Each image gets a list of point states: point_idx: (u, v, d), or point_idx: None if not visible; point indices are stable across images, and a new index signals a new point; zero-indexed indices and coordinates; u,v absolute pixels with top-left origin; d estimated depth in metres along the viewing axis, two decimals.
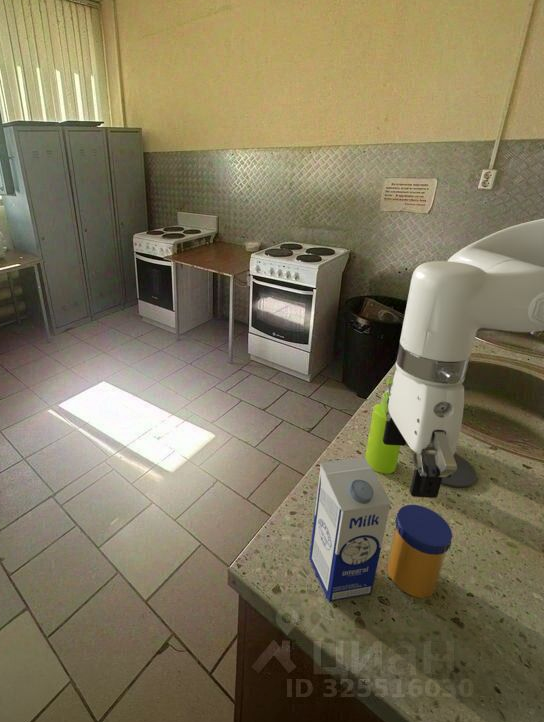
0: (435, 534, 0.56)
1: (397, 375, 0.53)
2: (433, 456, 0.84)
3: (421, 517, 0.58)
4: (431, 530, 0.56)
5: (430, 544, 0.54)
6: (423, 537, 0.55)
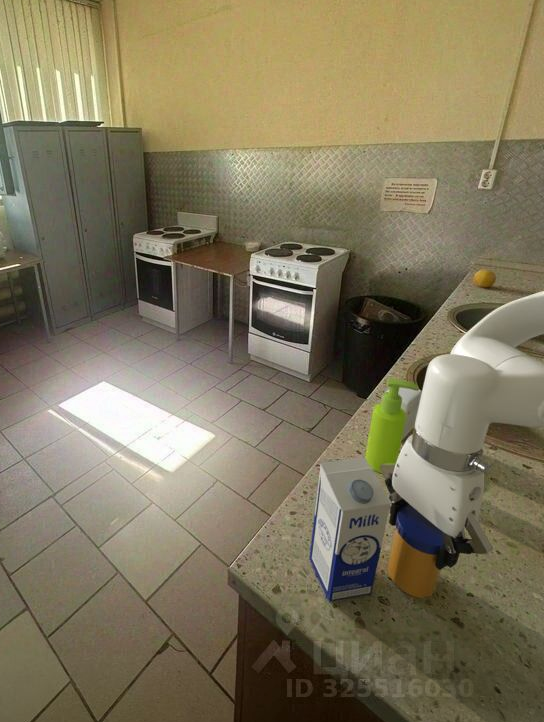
0: (435, 534, 0.56)
1: (409, 460, 0.55)
2: None
3: (421, 517, 0.58)
4: (431, 530, 0.56)
5: (430, 544, 0.54)
6: (423, 537, 0.55)
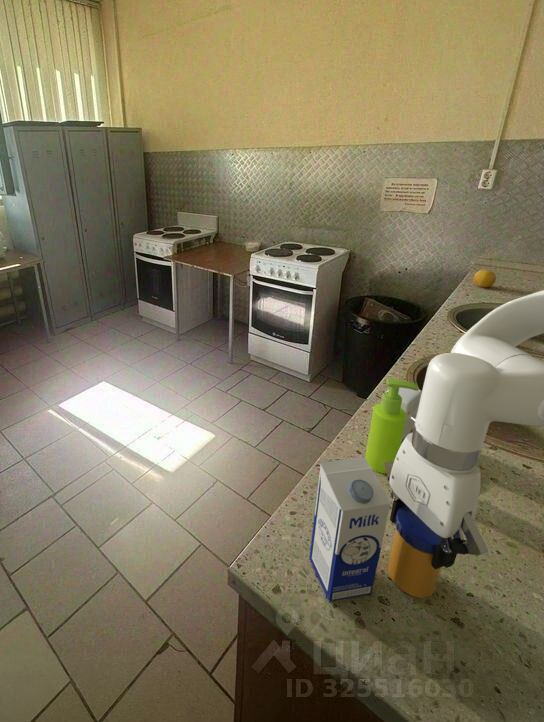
0: None
1: None
2: None
3: (425, 529, 0.56)
4: (417, 516, 0.58)
5: None
6: None
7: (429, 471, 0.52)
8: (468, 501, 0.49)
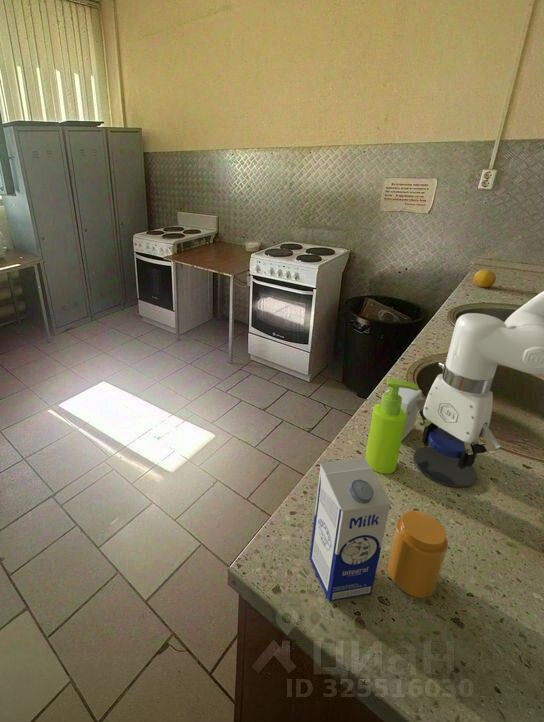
0: (441, 433, 0.81)
1: None
2: (433, 456, 0.84)
3: (451, 443, 0.78)
4: (444, 435, 0.80)
5: None
6: None
7: (457, 398, 0.73)
8: (486, 414, 0.71)
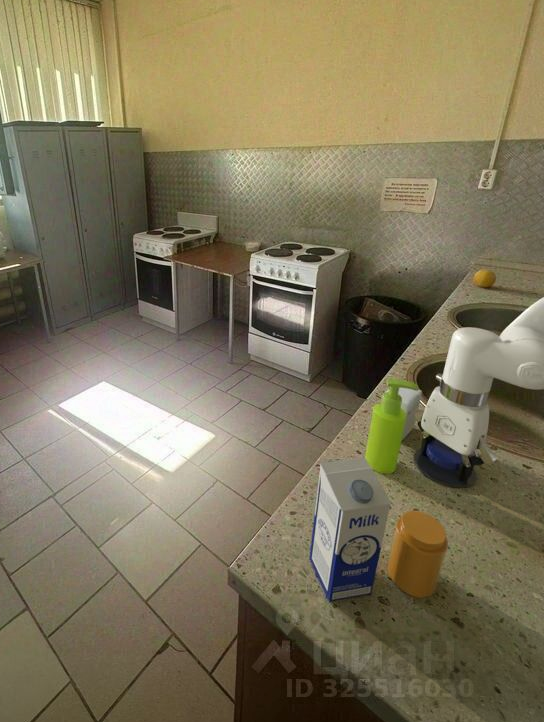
0: (439, 445, 0.82)
1: None
2: None
3: (449, 454, 0.79)
4: (442, 447, 0.81)
5: None
6: None
7: (454, 411, 0.74)
8: (482, 427, 0.72)
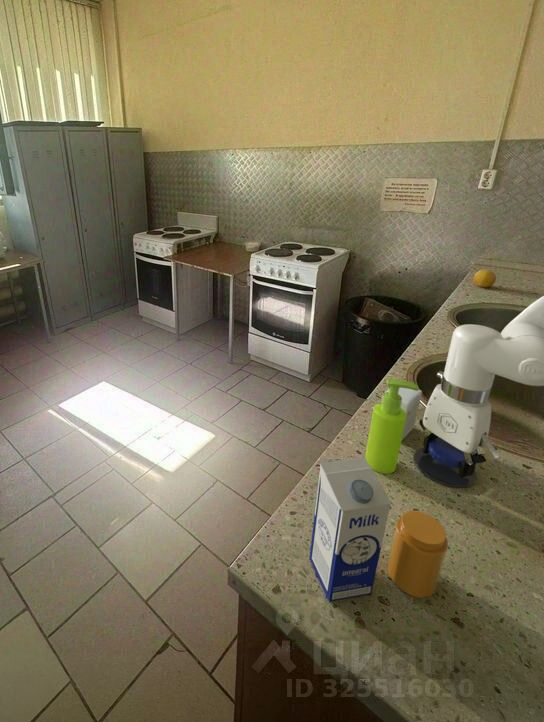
0: (441, 443, 0.81)
1: None
2: None
3: (451, 453, 0.79)
4: (444, 445, 0.81)
5: None
6: None
7: (456, 408, 0.74)
8: (484, 424, 0.72)
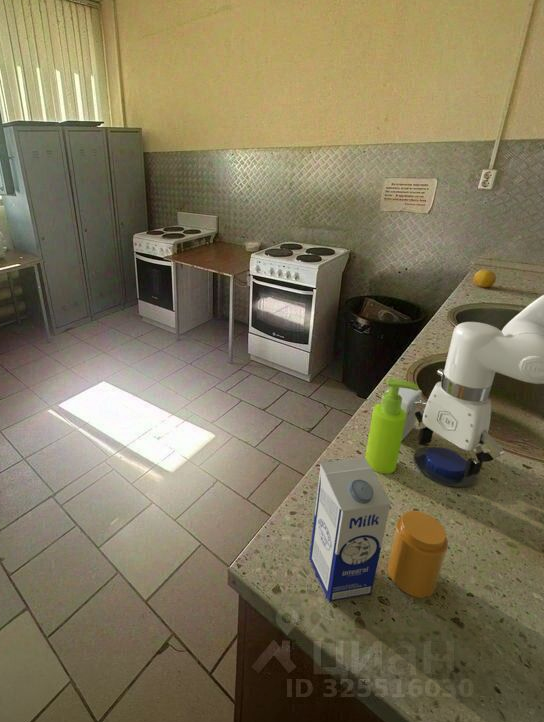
0: (438, 453, 0.82)
1: None
2: None
3: (448, 462, 0.80)
4: (441, 455, 0.82)
5: (441, 448, 0.83)
6: (446, 451, 0.83)
7: (456, 406, 0.74)
8: (484, 422, 0.72)
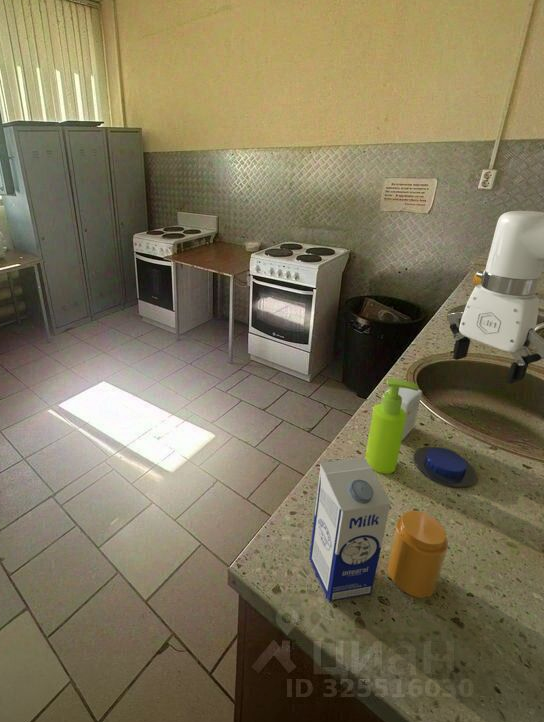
0: (438, 453, 0.82)
1: None
2: None
3: (448, 462, 0.80)
4: (441, 455, 0.82)
5: (441, 448, 0.83)
6: (446, 451, 0.83)
7: (500, 304, 0.68)
8: (532, 318, 0.66)
